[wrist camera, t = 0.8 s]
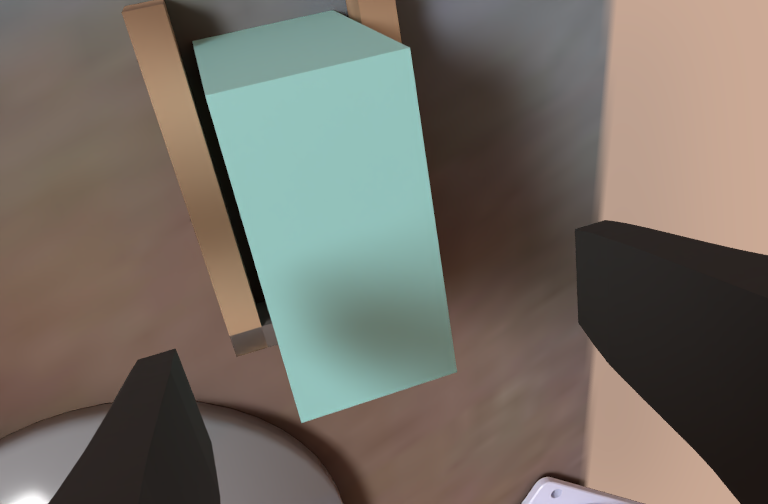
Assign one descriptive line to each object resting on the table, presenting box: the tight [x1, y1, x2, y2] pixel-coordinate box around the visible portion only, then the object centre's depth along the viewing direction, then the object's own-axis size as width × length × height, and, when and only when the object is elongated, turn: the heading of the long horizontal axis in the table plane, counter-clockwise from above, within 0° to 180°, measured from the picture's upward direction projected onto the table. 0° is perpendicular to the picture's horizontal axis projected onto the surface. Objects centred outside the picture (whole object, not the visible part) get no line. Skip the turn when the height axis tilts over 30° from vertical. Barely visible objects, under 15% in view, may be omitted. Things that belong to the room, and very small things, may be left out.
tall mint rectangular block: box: [192, 10, 457, 423], centre depth 18 cm, size 8×4×7 cm, turn 10°
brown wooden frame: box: [122, 0, 402, 357], centre depth 20 cm, size 10×7×2 cm, turn 10°
